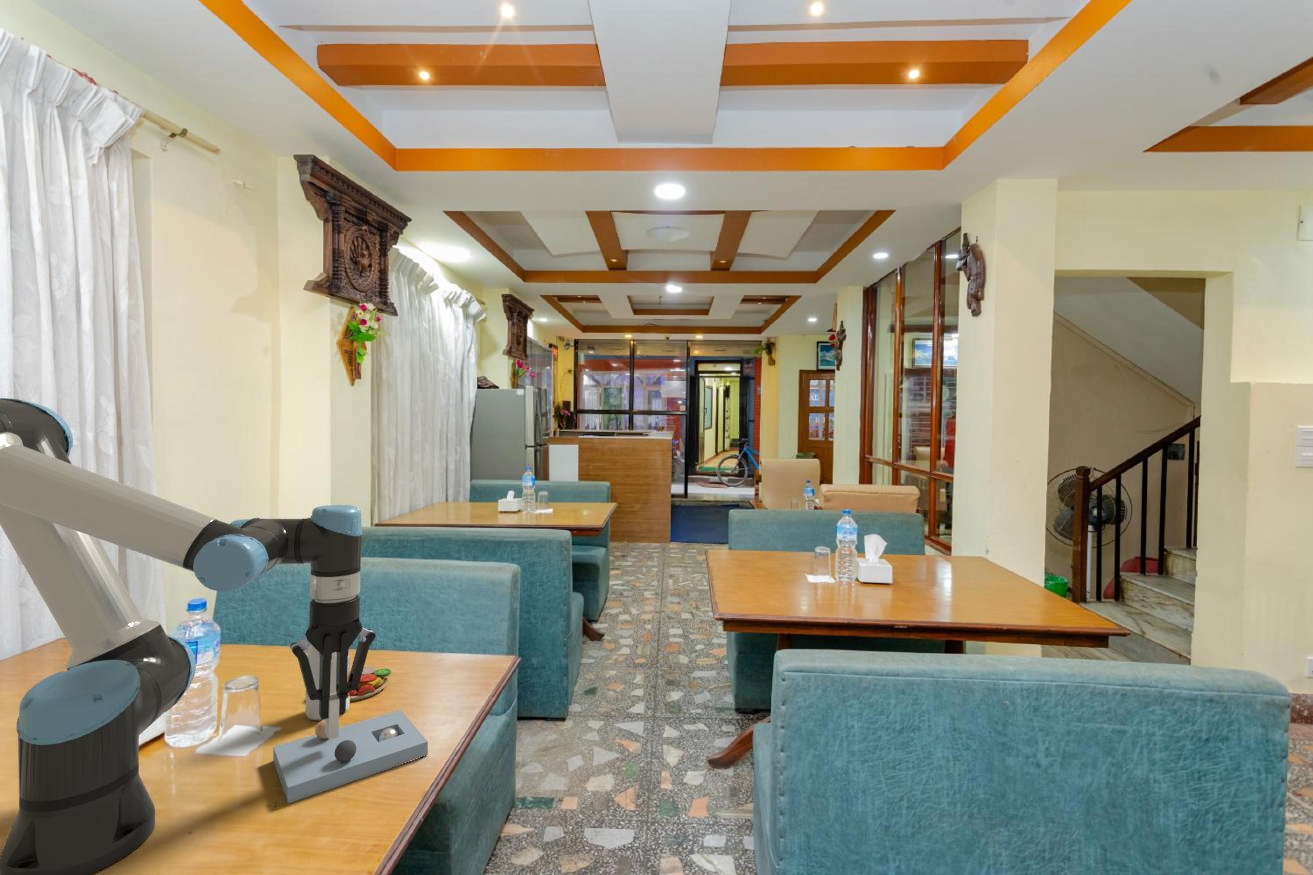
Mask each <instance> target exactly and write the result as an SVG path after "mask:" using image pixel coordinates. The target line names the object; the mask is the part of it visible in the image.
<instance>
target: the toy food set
mask: <svg viewBox="0 0 1313 875" xmlns="http://www.w3.org/2000/svg"><path fill="white" fill-rule="evenodd" d="M391 675H392V670H391V669H389V668H380V669H377V668H376V667H374V666H367V667H365V666H364V668H363V672H362V675H361V679H360V683H359V686H358V689H357V690H355V691H351V692H350V702H354V701H360V699H361V700H364V699H363V698H365V699H368V698H370V696H371V697H373V696H375V695H377V694H379V693H380V692H382V691H383V690H384V689H385V688H386V687H387V686H388V684H389V678H388V677H389V676H391ZM382 689H383V690H382ZM381 690H382V691H381ZM376 693H377V694H376ZM374 694H375V695H374ZM372 695H373V696H372ZM367 697H368V698H367Z"/></svg>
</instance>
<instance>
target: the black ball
mask: <svg viewBox="0 0 1313 875" xmlns="http://www.w3.org/2000/svg"><path fill="white" fill-rule="evenodd" d="M355 753H356V745H355V743H354V742H353V741H351V740H345V741H342V742H341V743H339V744H338V745H337V747H336V749H335V758H336V759H337V760H338V761H340V762H347V761H349V760H351V759H352V758H353V757H354V755H355Z"/></svg>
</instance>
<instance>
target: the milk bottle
mask: <svg viewBox="0 0 1313 875" xmlns="http://www.w3.org/2000/svg"><path fill="white" fill-rule="evenodd" d="M308 648H309V650H308V652H307V653H306V655H307V657H308V660H309V664H310V667H311V671H312V675H313V679H314V682H315V686H316V689H319V670H320V656H319V652H318V651H317V650H316V649H315V648H314V647H313V645H312V644H311V643H310V644H309V646H308ZM336 661H337V654H336V652H334V653H332V660H331V676H330V694H334V693H336ZM350 671H351V668H350V654H349V655H348V667H347V682H348V679H349V675H350ZM350 702H351V701H350V692H349V693H348V696H347V697H346V711H345V713H346V712H348V709H349V708H350ZM305 716H306V718H308V720H311V721H322V719H321V717H320V715H319V700H310V698H309V696H308V694H307V692H306V691H305ZM340 716H341V715H339V717H340ZM323 720H324V719H323Z"/></svg>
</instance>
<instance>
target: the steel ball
mask: <svg viewBox="0 0 1313 875" xmlns="http://www.w3.org/2000/svg"><path fill="white" fill-rule="evenodd" d="M396 736H398V733H397V731H396V730H395V729H393V728H388V729H385V730H384V731H382V733H381V734H380V736H379V742H380V741H383V740H386V739H390V738H393V737H396Z"/></svg>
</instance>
